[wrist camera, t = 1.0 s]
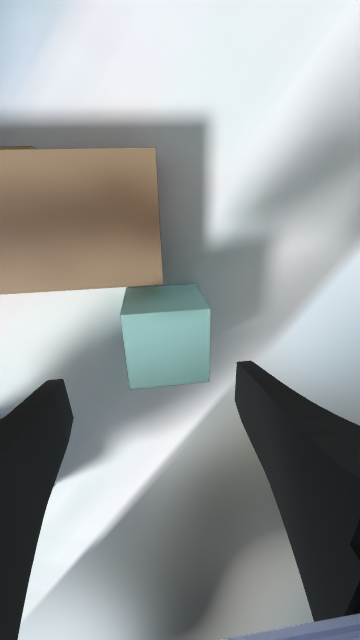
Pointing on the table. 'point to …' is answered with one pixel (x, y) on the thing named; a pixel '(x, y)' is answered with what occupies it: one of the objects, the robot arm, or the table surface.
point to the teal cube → (166, 335)
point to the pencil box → (78, 219)
